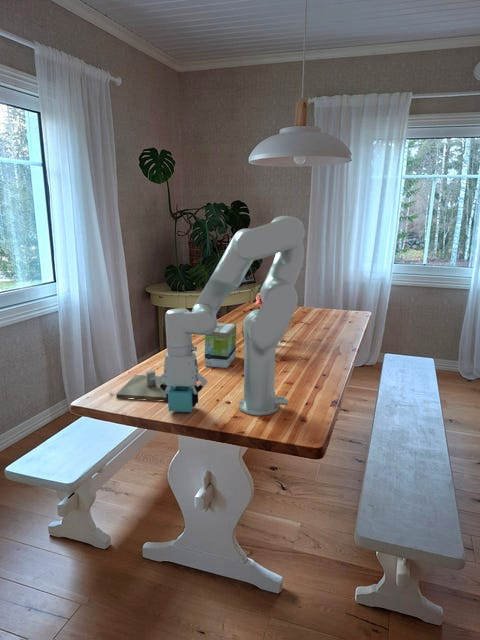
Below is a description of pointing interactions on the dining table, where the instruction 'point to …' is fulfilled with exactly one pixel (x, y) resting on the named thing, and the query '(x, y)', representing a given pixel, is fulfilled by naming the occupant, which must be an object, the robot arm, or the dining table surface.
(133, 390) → the post board
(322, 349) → the dining table surface
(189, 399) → the collar
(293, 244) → the robot arm
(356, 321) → the dining table surface
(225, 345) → the tea box
